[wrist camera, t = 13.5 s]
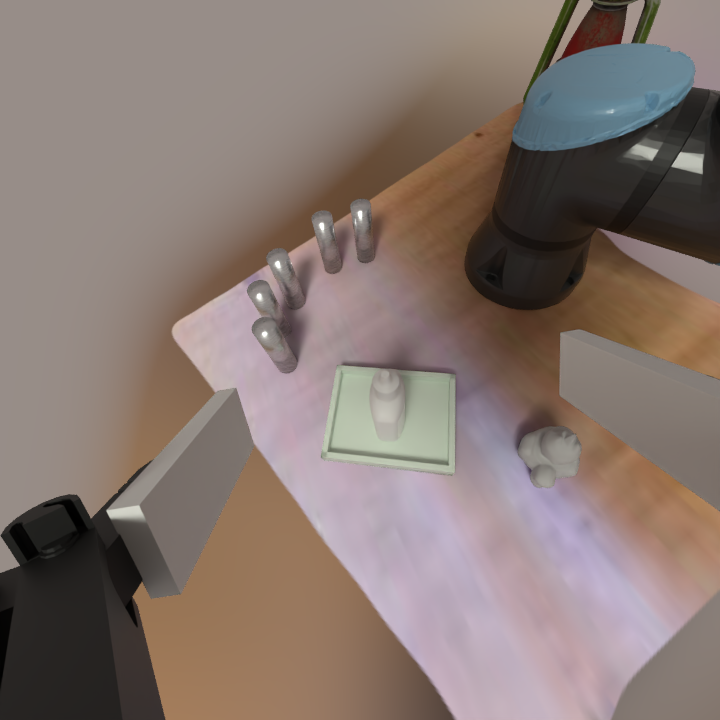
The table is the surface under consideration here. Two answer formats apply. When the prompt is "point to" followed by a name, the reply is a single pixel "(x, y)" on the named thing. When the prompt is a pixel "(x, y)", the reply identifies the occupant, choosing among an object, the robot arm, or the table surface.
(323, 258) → the spacers
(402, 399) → the eye dropper bottle
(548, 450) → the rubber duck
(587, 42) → the lantern
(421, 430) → the tray
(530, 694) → the table surface
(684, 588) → the table surface
